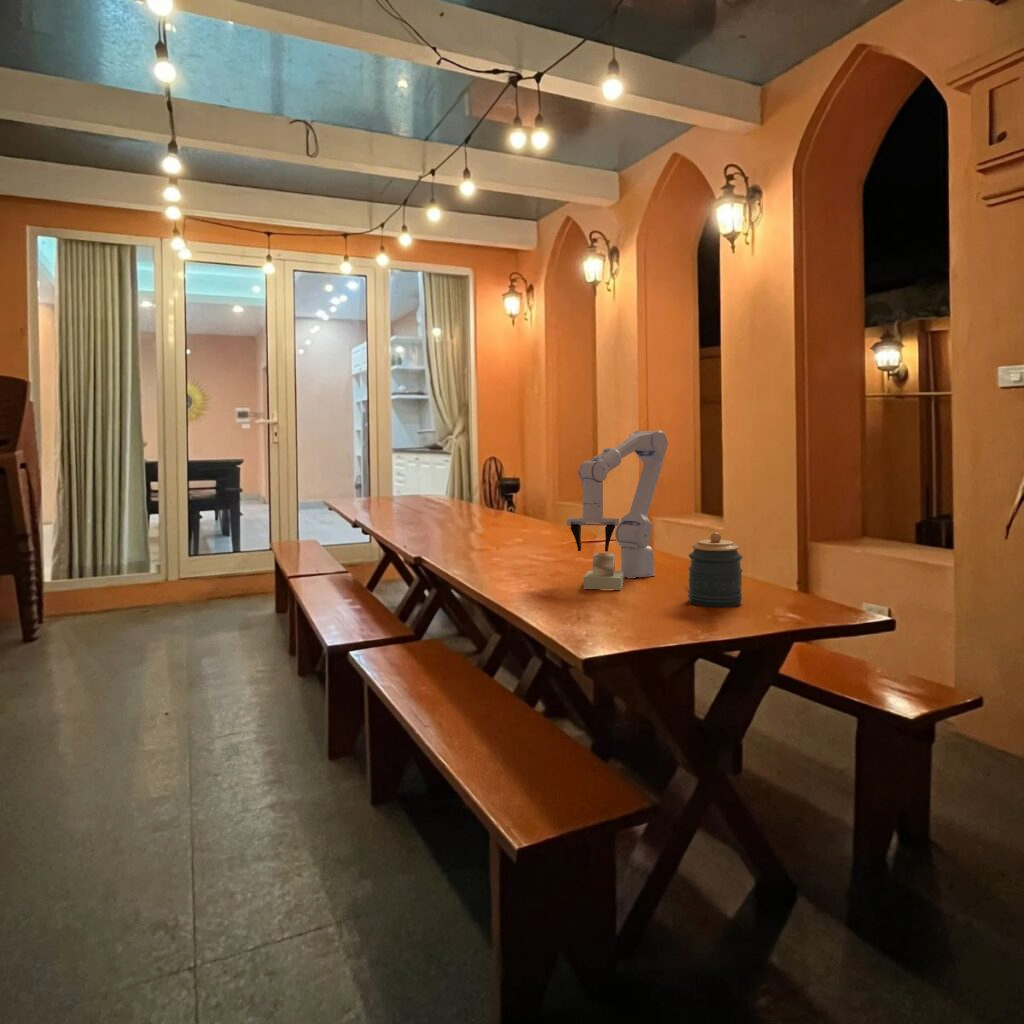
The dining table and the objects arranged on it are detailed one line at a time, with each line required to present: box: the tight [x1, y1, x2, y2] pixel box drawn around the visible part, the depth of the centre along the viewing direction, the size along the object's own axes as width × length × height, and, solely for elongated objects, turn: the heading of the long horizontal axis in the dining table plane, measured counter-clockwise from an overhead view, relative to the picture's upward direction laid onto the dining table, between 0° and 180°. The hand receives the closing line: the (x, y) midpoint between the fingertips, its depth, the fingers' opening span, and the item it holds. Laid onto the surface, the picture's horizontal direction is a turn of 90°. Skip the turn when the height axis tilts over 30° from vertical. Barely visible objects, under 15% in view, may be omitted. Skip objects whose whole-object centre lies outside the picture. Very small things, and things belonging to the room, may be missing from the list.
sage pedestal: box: [583, 570, 625, 591], centre depth 203 cm, size 10×10×4 cm
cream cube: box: [592, 552, 616, 576], centre depth 203 cm, size 6×6×6 cm
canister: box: [687, 531, 743, 609], centre depth 181 cm, size 13×13×18 cm
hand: (593, 550), depth 208 cm, fingers open, 7 cm apart
